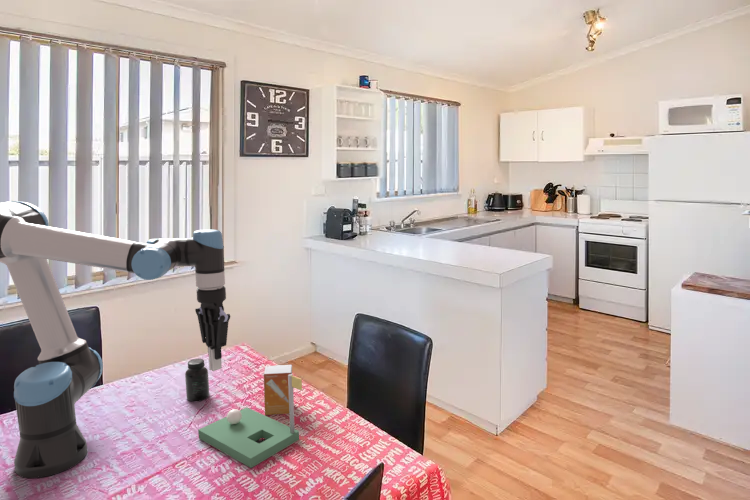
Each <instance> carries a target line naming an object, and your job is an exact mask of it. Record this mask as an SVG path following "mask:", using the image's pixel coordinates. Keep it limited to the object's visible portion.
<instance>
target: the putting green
mask: <svg viewBox="0 0 750 500" xmlns="http://www.w3.org/2000/svg"><path fill="white" fill-rule="evenodd" d="M302 380H303V379H302V378H300V377H297V376H295V375H293V373H292V374H289V375H288V385H289V414H288V415H289V425H286V424H284V423H282V422H280V421H278V420H276V419H274V418H271V417H269V416H268V415H265V414H263V413H260V412H259V411H256V410H254V409H251V408H250V407H247V406H246V407H244V408H242V409H240V410H239V411H240V412H241V414H242V418H241V420H240V422H239V423H237V424H230V423H229V422H228V421H227V416H225V417H223V418H220V419H218V420H216V421H214V422H212V423H209V424H208V425H206V426H203V427H202V428H201V427H200V428H199V429H197V430H198V431H197V432H198V439H199V440H201V441H202V442H205V443H206V444H207V445H210V446H212V447H213V448H215V449H217V450H219V452H221V453H224V454H226V455H227V456H229V457H231V458H232V459H234V460H236V461H238V462H240V463H241V464H243V465H245V466H247V467H248V468H250V469H252V468H253V467H256V466H257V465H259V464H260V463H262V462H264V461H266V460H267V459H269V458H271V457H272V456H274V455H276V454H278V453H279V452H281V451H282V450H284V449H286V448H288V447H289V446H291V445H293V444H295V443H296V442H298V441H299V440H300V430H298V429H295V404H294V403H295V401H294V389H297V390H300V391H302V390H303V381H302Z"/></svg>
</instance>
